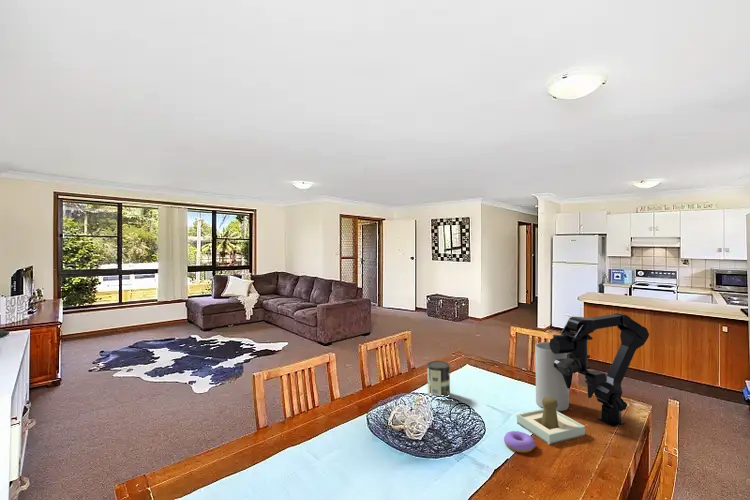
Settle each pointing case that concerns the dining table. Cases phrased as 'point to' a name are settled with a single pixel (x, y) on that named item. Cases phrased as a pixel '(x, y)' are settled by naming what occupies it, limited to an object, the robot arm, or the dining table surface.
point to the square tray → (563, 433)
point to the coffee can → (438, 378)
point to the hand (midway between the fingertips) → (578, 392)
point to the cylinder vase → (550, 377)
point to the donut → (519, 441)
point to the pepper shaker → (549, 413)
